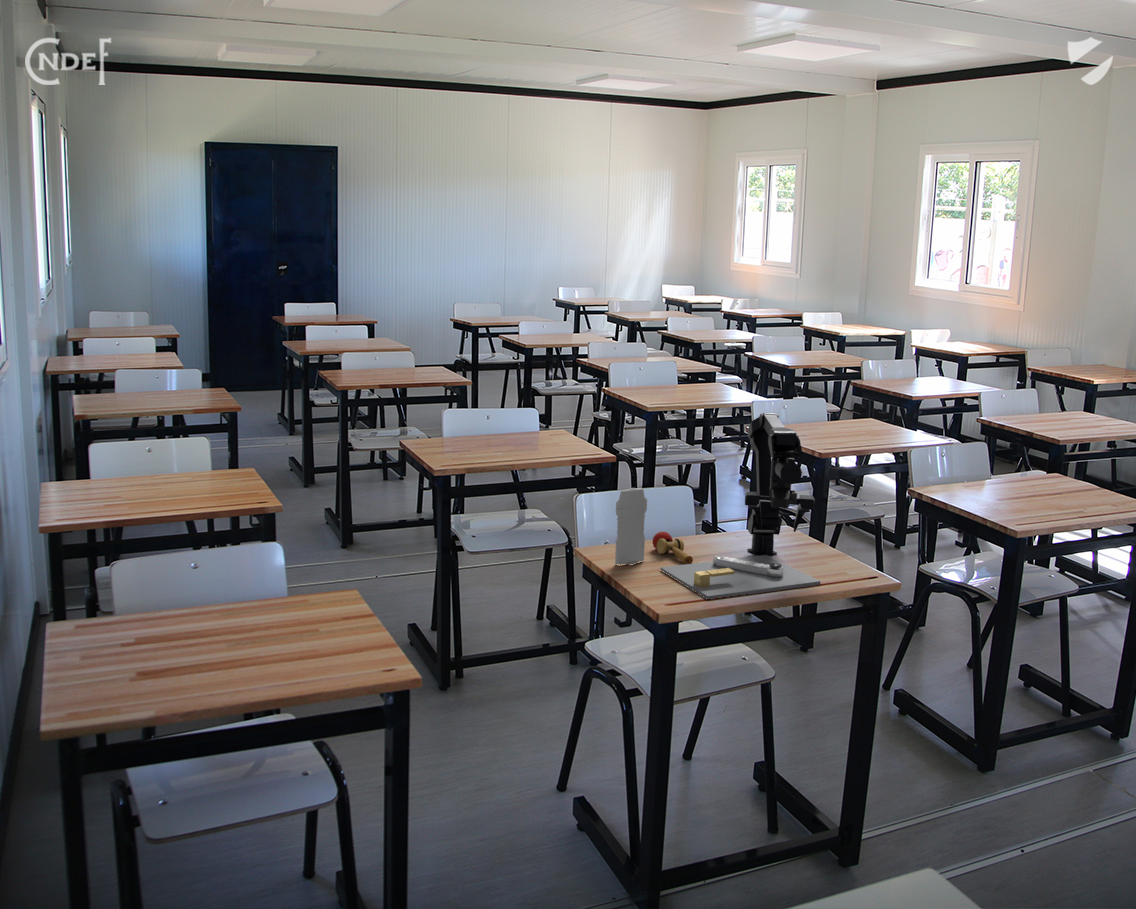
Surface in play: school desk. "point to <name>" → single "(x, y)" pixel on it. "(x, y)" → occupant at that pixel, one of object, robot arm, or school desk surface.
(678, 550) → the kendama
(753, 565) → the link
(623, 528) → the tall pale column
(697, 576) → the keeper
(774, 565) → the glossy black ball
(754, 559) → the base plate
